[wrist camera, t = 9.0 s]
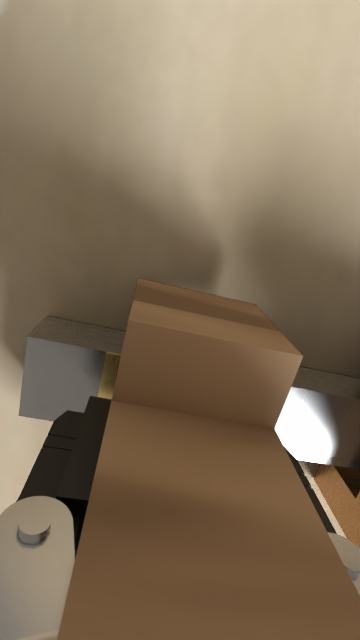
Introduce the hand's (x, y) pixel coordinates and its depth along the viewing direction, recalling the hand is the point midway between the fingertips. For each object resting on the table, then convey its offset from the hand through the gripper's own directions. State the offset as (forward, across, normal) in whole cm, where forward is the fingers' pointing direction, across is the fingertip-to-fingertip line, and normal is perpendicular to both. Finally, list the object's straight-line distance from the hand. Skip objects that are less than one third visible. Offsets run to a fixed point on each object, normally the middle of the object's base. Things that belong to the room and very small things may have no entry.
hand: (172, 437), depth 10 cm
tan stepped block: (+2, 0, 0) cm, 2 cm away
